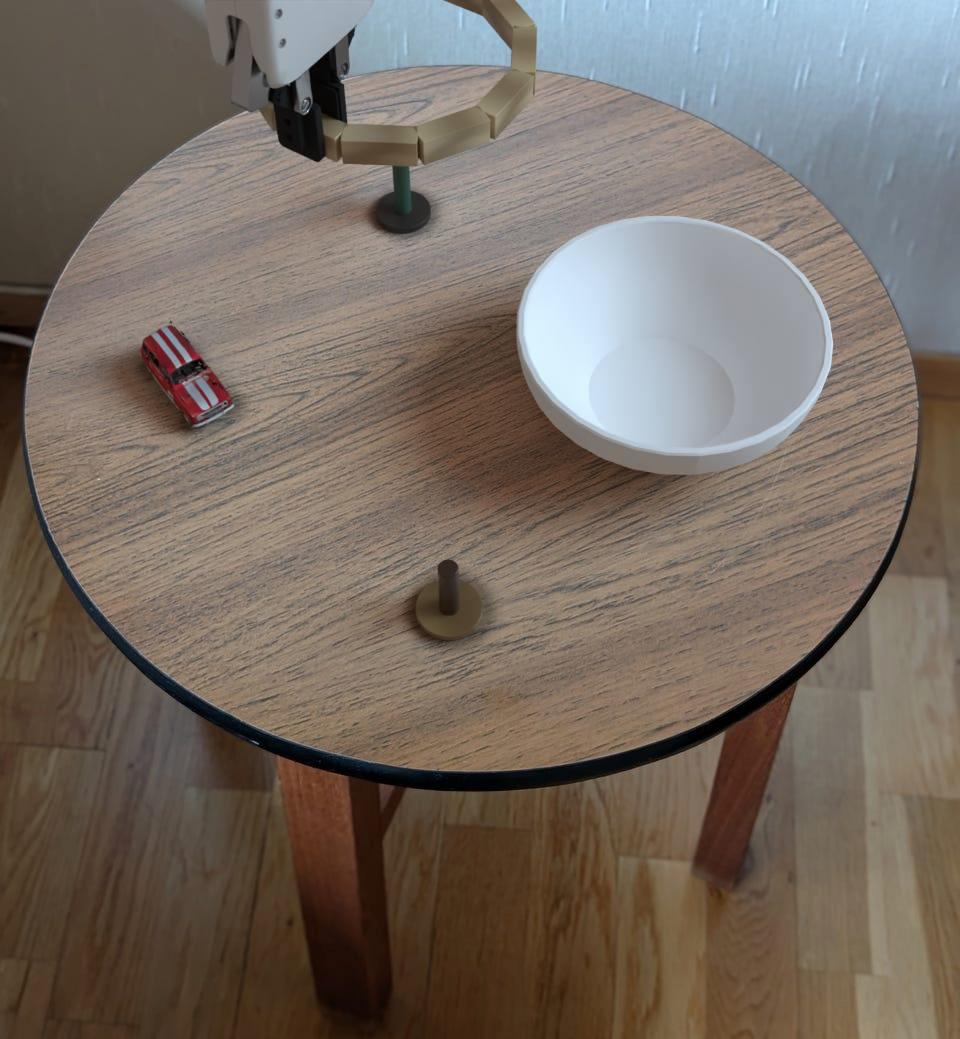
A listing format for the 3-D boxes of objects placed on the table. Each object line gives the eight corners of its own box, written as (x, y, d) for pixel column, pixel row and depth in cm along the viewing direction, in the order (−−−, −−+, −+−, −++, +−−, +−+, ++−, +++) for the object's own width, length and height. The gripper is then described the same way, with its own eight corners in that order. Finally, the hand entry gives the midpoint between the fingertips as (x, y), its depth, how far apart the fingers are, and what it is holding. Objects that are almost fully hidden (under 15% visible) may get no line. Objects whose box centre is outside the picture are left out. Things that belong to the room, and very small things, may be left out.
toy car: (194, 437, 87) (185, 407, 84) (136, 360, 90) (125, 328, 87) (242, 411, 88) (235, 380, 85) (182, 336, 91) (174, 304, 89)
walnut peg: (459, 652, 78) (458, 610, 74) (402, 619, 79) (398, 577, 75) (495, 602, 80) (496, 558, 76) (439, 571, 81) (438, 526, 77)
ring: (432, 206, 80) (431, 183, 78) (188, 94, 85) (183, 71, 83) (587, 41, 88) (589, 17, 87) (357, -51, 94) (356, -75, 92)
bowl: (777, 282, 94) (798, 206, 88) (838, 512, 84) (866, 445, 78) (501, 296, 93) (503, 221, 87) (527, 531, 83) (531, 464, 77)
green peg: (410, 241, 96) (408, 189, 92) (365, 219, 97) (360, 167, 93) (441, 208, 98) (440, 155, 94) (396, 187, 99) (393, 134, 95)
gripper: (312, -237, 72) (339, 52, 87) (119, -97, 65) (185, 192, 80) (428, -196, 70) (434, 93, 85) (242, -46, 62) (285, 241, 78)
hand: (313, 139), depth 82 cm, fingers closed on ring, 1 cm apart
